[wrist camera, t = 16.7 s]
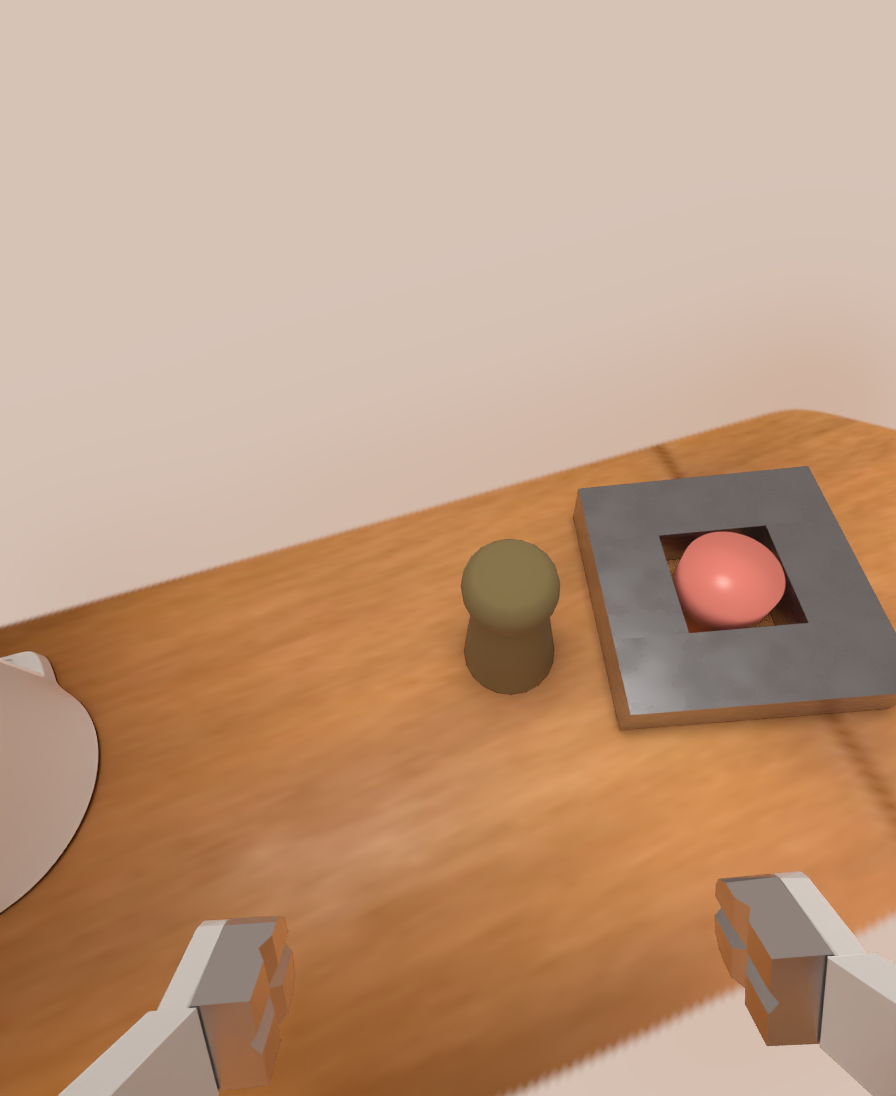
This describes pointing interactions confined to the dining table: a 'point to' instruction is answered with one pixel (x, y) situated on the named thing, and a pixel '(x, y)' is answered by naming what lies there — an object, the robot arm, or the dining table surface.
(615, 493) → the switch box
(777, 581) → the button
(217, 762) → the dining table surface
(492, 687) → the olive pepper mill
